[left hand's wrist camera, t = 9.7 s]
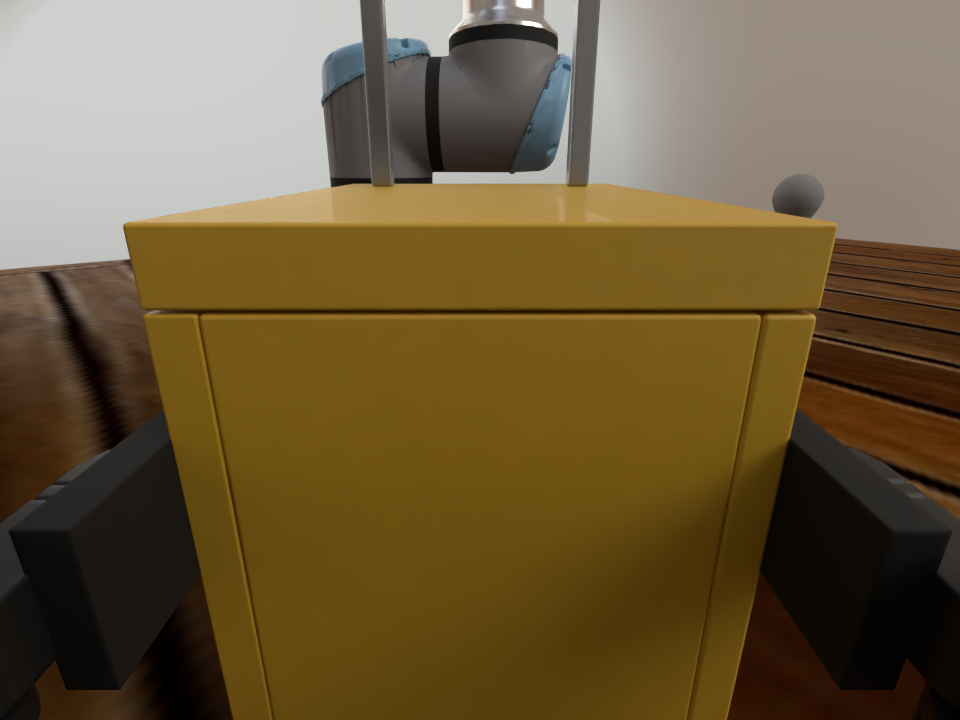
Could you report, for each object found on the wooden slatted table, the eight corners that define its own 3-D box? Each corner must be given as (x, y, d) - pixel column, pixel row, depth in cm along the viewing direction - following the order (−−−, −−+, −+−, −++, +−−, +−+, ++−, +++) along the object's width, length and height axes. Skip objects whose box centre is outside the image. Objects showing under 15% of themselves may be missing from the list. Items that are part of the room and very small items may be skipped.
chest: (369, 435, 25) (351, 219, 21) (590, 435, 25) (608, 219, 21) (239, 756, 11) (140, 314, 8) (720, 755, 11) (820, 314, 8)
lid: (354, 217, 22) (334, -49, 19) (605, 217, 22) (626, -49, 19) (139, 311, 8) (-75, -637, 5) (821, 311, 8) (1034, -635, 5)
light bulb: (773, 253, 72) (788, 174, 69) (756, 246, 78) (769, 173, 74) (820, 253, 72) (837, 174, 68) (800, 247, 77) (815, 173, 74)
